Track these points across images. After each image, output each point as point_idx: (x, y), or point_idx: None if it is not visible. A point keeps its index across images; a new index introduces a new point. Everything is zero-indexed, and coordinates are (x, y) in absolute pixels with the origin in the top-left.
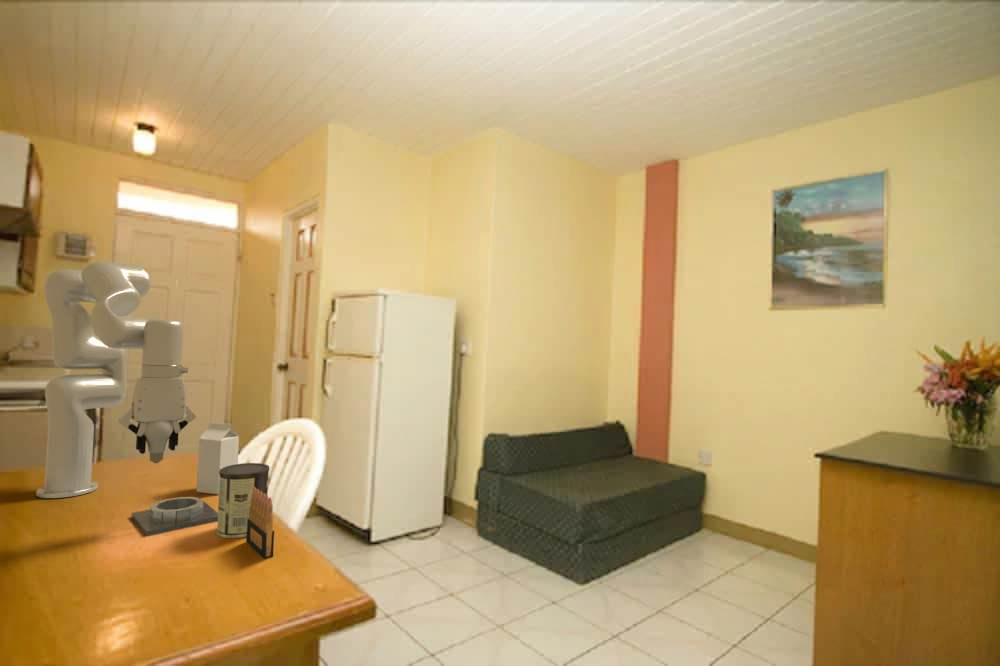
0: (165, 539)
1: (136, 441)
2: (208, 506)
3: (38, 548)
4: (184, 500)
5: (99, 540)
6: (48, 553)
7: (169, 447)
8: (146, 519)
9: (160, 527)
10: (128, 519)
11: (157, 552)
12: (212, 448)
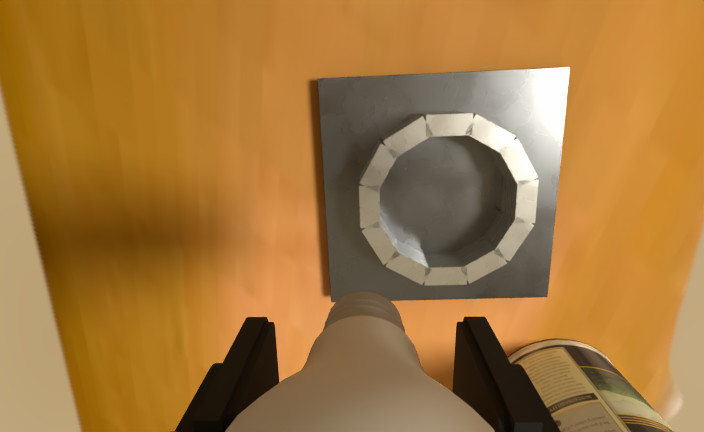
0: None
1: (193, 408)
2: (554, 170)
3: (90, 220)
4: (487, 146)
5: (225, 252)
6: (118, 273)
7: (457, 358)
8: (348, 190)
9: (370, 290)
10: (308, 99)
11: None
12: None
